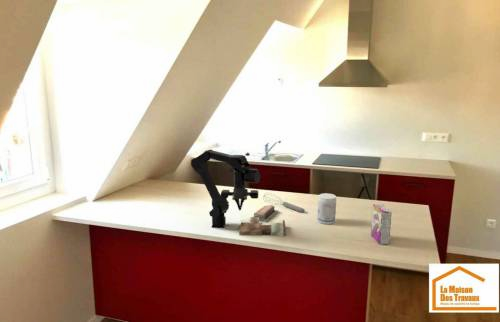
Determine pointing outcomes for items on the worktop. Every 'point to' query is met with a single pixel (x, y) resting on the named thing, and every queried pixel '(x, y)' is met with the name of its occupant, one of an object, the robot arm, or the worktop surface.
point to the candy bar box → (381, 224)
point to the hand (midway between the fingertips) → (239, 210)
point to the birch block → (254, 223)
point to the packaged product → (266, 213)
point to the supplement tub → (326, 208)
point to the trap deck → (263, 229)
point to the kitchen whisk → (288, 205)
